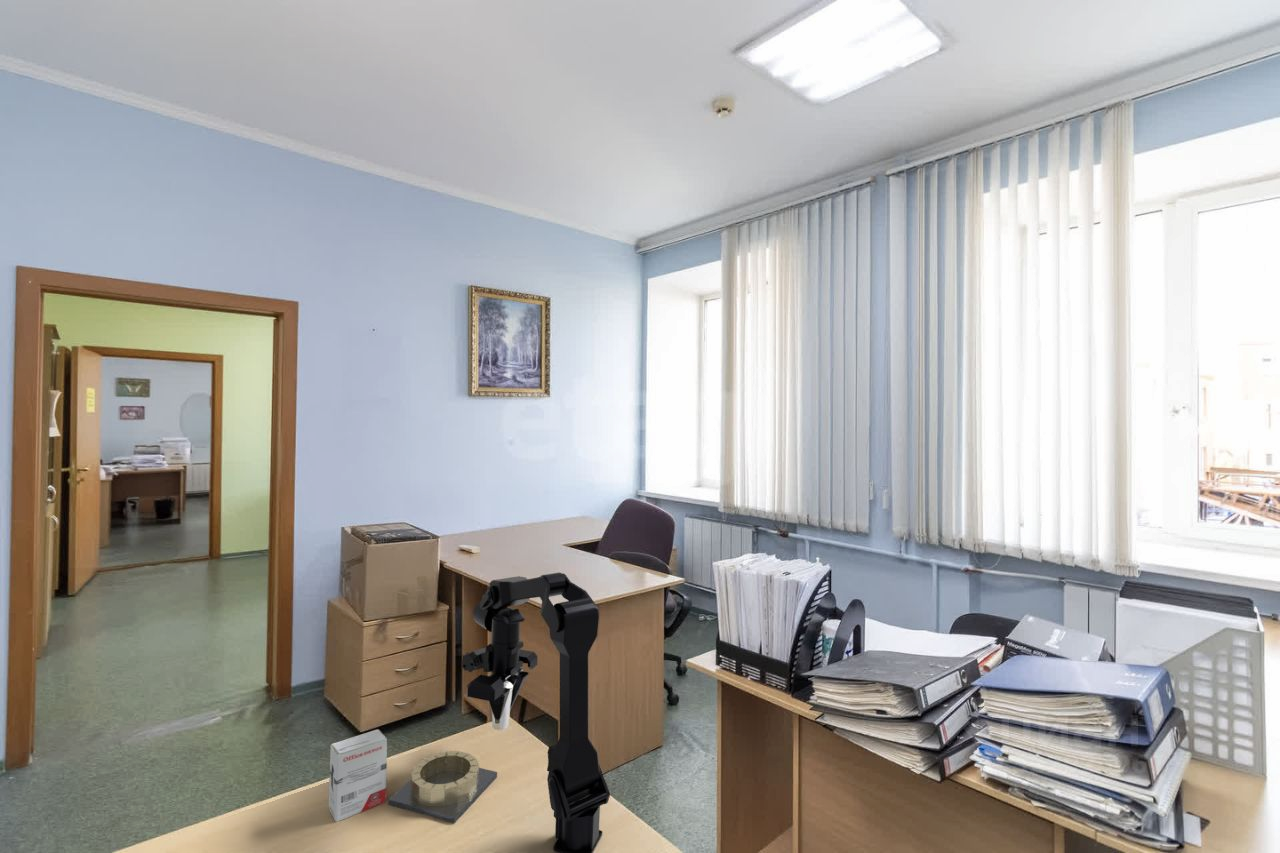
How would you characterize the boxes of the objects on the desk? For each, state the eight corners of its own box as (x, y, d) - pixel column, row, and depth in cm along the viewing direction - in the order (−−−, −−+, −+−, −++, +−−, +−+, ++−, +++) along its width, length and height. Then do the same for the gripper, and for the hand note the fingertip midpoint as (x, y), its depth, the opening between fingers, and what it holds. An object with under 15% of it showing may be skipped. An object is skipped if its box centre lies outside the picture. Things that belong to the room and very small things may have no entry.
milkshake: (509, 734, 117) (511, 684, 117) (485, 730, 118) (487, 681, 118) (518, 722, 122) (520, 675, 122) (495, 719, 123) (496, 672, 123)
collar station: (497, 777, 114) (497, 756, 114) (454, 823, 101) (455, 800, 101) (436, 762, 119) (437, 742, 119) (388, 804, 105) (388, 782, 105)
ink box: (377, 789, 109) (379, 726, 109) (386, 802, 106) (388, 738, 106) (327, 808, 104) (329, 742, 104) (335, 823, 100) (337, 754, 100)
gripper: (495, 619, 131) (492, 688, 131) (444, 649, 113) (441, 729, 113) (539, 626, 128) (537, 697, 128) (494, 658, 110) (491, 740, 110)
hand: (502, 714), depth 120 cm, fingers closed on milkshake, 4 cm apart
